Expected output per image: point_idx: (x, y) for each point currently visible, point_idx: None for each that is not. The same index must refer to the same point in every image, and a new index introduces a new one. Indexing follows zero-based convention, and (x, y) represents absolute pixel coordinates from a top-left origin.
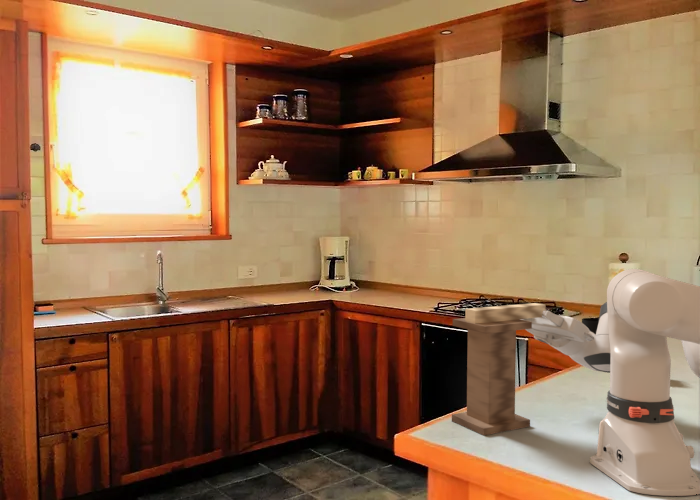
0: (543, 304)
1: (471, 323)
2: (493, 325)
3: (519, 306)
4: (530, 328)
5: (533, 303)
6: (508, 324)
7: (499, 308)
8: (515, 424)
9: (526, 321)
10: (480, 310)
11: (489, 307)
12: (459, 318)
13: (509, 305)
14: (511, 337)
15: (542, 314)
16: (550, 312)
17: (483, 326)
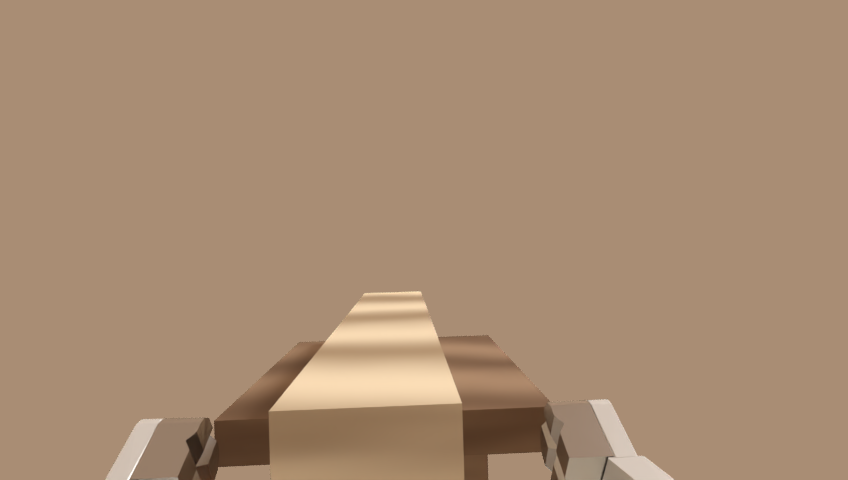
0: (299, 406)
1: None
2: (293, 350)
3: (349, 332)
4: (219, 461)
5: (433, 386)
6: (269, 370)
7: (356, 308)
8: None
9: (249, 412)
10: (362, 296)
11: (406, 304)
12: (492, 341)
13: (420, 325)
14: None
15: (209, 447)
16: (125, 449)
17: (307, 342)
